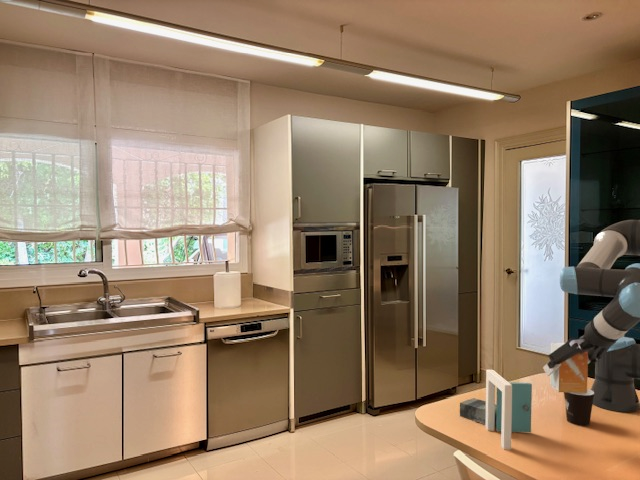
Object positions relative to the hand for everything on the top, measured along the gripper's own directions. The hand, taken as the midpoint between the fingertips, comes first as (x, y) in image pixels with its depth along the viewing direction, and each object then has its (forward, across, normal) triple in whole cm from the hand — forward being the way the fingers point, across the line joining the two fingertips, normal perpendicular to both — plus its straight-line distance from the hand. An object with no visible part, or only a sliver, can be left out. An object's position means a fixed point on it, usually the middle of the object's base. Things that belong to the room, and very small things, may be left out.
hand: (560, 370), depth 143 cm
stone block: (+25, -14, -3) cm, 29 cm away
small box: (+1, 0, -6) cm, 6 cm away
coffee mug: (+19, +14, -9) cm, 25 cm away
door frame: (+16, -19, -12) cm, 27 cm away
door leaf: (+16, -13, -10) cm, 23 cm away
